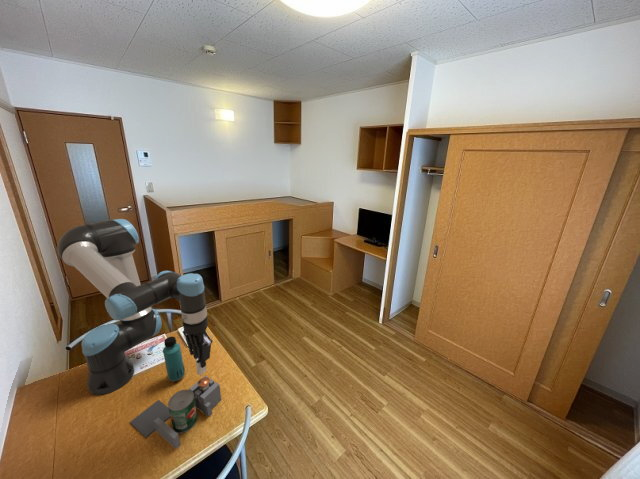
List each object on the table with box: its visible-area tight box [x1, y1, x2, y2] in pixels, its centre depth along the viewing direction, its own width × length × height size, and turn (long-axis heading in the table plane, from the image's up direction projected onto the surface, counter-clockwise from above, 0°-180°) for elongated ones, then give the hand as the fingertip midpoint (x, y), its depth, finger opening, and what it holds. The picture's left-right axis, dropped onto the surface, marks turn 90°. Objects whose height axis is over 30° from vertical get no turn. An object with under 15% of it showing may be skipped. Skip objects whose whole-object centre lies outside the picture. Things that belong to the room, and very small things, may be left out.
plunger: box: [197, 376, 211, 394], centre depth 97 cm, size 4×4×7 cm
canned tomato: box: [167, 389, 198, 434], centre depth 90 cm, size 8×8×11 cm
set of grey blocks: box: [154, 375, 222, 450], centre depth 93 cm, size 11×20×8 cm, turn 151°
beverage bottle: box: [162, 336, 186, 382], centre depth 106 cm, size 6×7×20 cm
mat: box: [129, 399, 171, 439], centre depth 92 cm, size 10×10×1 cm
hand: (201, 372), depth 95 cm, fingers closed
